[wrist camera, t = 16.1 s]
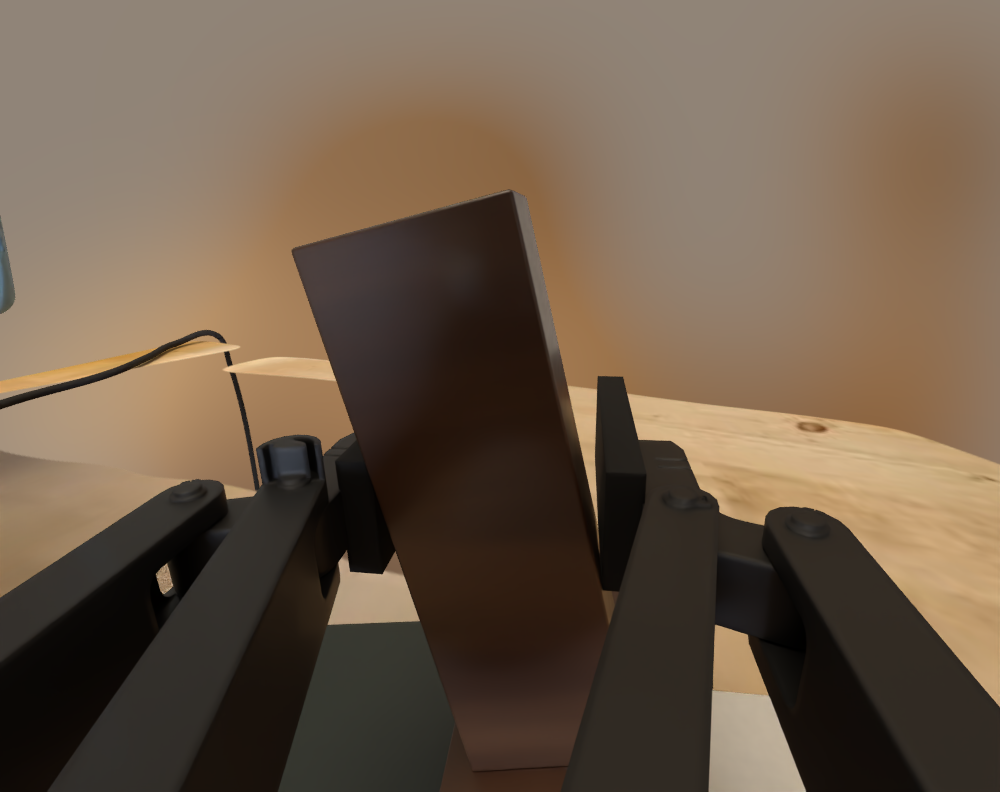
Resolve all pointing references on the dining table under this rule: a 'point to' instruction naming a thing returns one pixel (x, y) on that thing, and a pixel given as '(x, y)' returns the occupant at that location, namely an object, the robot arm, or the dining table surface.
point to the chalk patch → (749, 746)
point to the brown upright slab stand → (473, 472)
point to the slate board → (371, 714)
